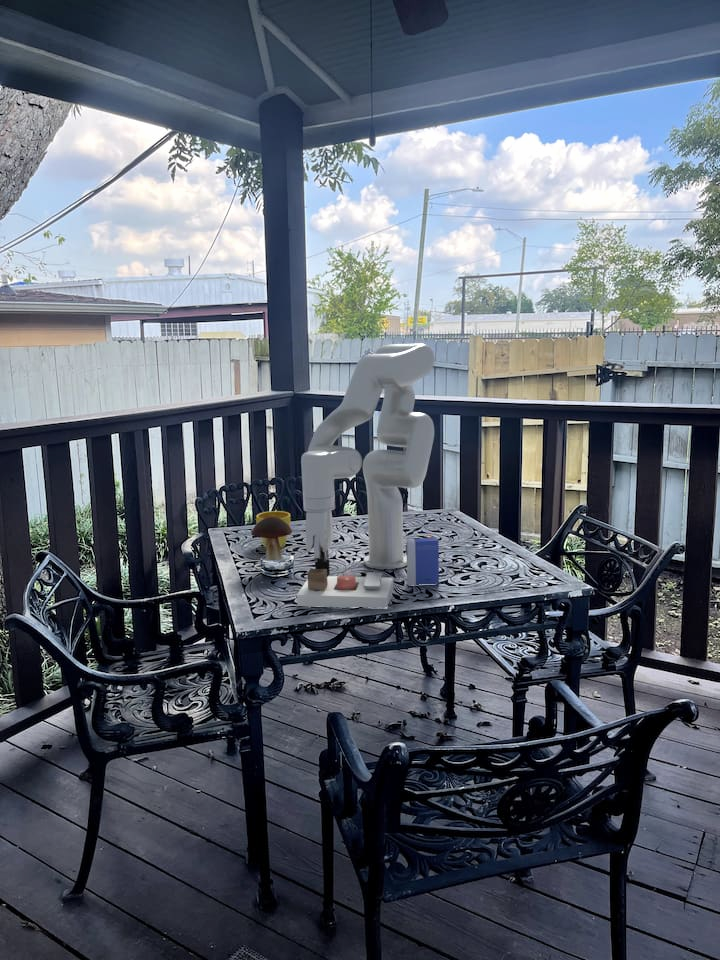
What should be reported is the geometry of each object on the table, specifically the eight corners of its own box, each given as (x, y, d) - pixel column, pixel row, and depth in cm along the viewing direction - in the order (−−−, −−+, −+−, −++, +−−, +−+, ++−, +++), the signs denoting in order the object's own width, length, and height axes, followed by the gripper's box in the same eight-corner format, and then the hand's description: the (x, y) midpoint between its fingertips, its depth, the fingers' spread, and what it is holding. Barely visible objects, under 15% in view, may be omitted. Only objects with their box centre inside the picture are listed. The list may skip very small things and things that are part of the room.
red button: (339, 586, 159) (338, 574, 158) (357, 586, 158) (356, 575, 158) (335, 593, 155) (335, 581, 154) (354, 593, 154) (353, 581, 153)
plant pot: (294, 540, 205) (293, 510, 203) (288, 550, 195) (286, 519, 193) (262, 540, 206) (260, 510, 204) (254, 550, 196) (252, 519, 194)
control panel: (310, 587, 165) (309, 572, 164) (393, 589, 161) (393, 574, 161) (297, 607, 152) (296, 591, 151) (387, 609, 149) (387, 593, 148)
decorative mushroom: (302, 568, 179) (299, 515, 176) (271, 579, 171) (268, 524, 168) (275, 560, 186) (272, 509, 183) (245, 571, 178) (241, 518, 175)
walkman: (436, 581, 166) (436, 535, 164) (438, 585, 163) (438, 539, 161) (405, 583, 165) (405, 537, 163) (407, 587, 163) (407, 540, 160)
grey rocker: (367, 575, 158) (367, 572, 158) (382, 575, 157) (382, 572, 157) (364, 588, 153) (363, 585, 152) (379, 589, 152) (379, 586, 152)
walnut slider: (311, 584, 157) (310, 568, 156) (327, 585, 156) (326, 569, 156) (308, 589, 154) (307, 573, 153) (324, 589, 153) (324, 573, 153)
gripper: (310, 495, 164) (314, 565, 168) (296, 510, 150) (300, 586, 153) (340, 495, 163) (343, 565, 167) (328, 510, 148) (331, 587, 152)
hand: (322, 575), depth 160 cm, fingers closed
